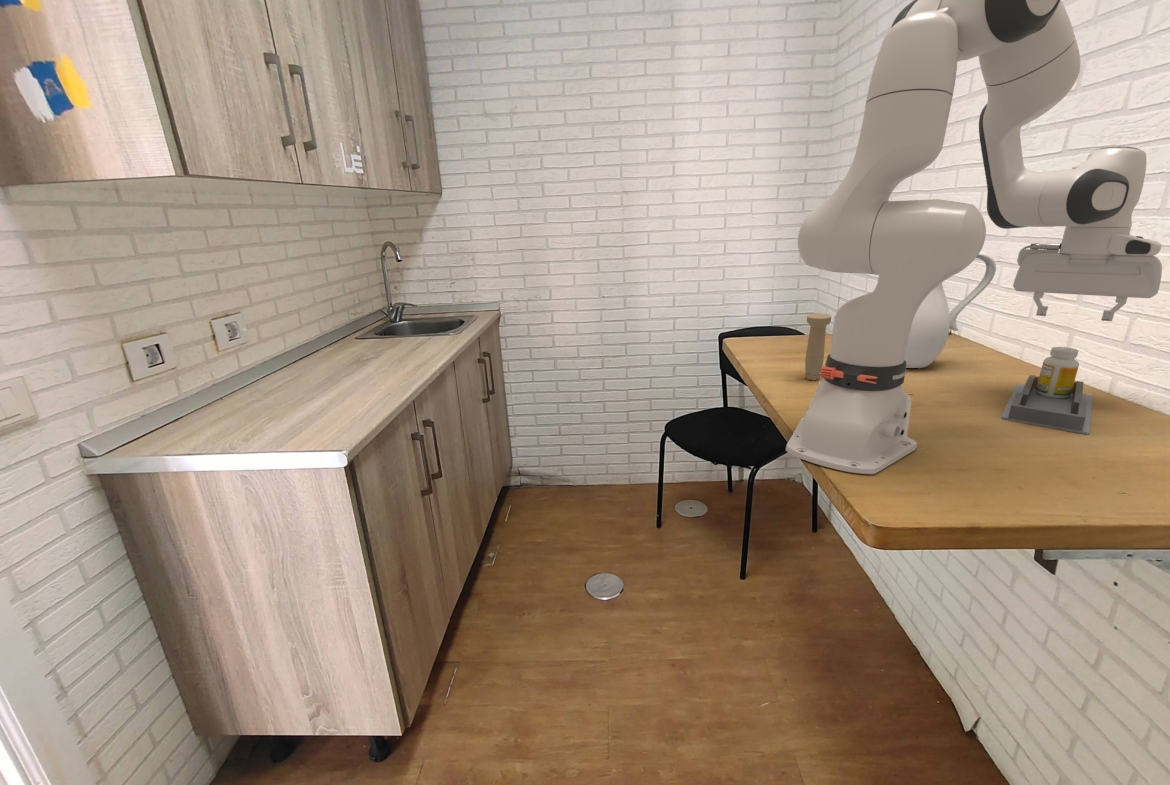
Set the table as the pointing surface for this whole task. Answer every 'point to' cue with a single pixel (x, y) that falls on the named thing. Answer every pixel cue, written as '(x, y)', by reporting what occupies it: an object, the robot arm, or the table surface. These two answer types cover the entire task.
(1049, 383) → the supplement bottle
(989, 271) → the pitcher
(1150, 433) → the table surface
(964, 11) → the robot arm
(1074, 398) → the gray rectangular stand
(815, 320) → the handle
